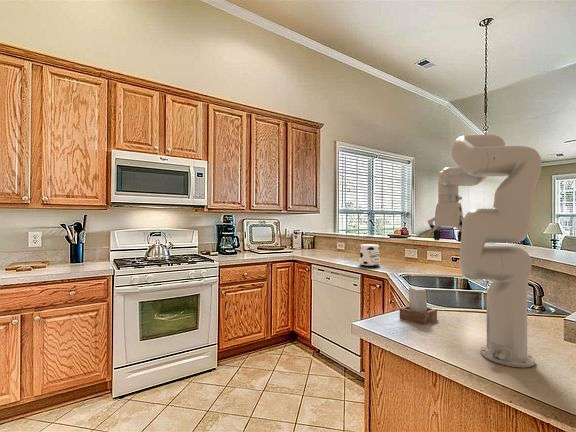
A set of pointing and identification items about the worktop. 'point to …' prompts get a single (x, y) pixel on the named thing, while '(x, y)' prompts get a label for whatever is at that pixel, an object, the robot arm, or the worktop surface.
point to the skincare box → (417, 299)
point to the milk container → (369, 255)
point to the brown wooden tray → (418, 315)
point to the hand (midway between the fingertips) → (448, 240)
